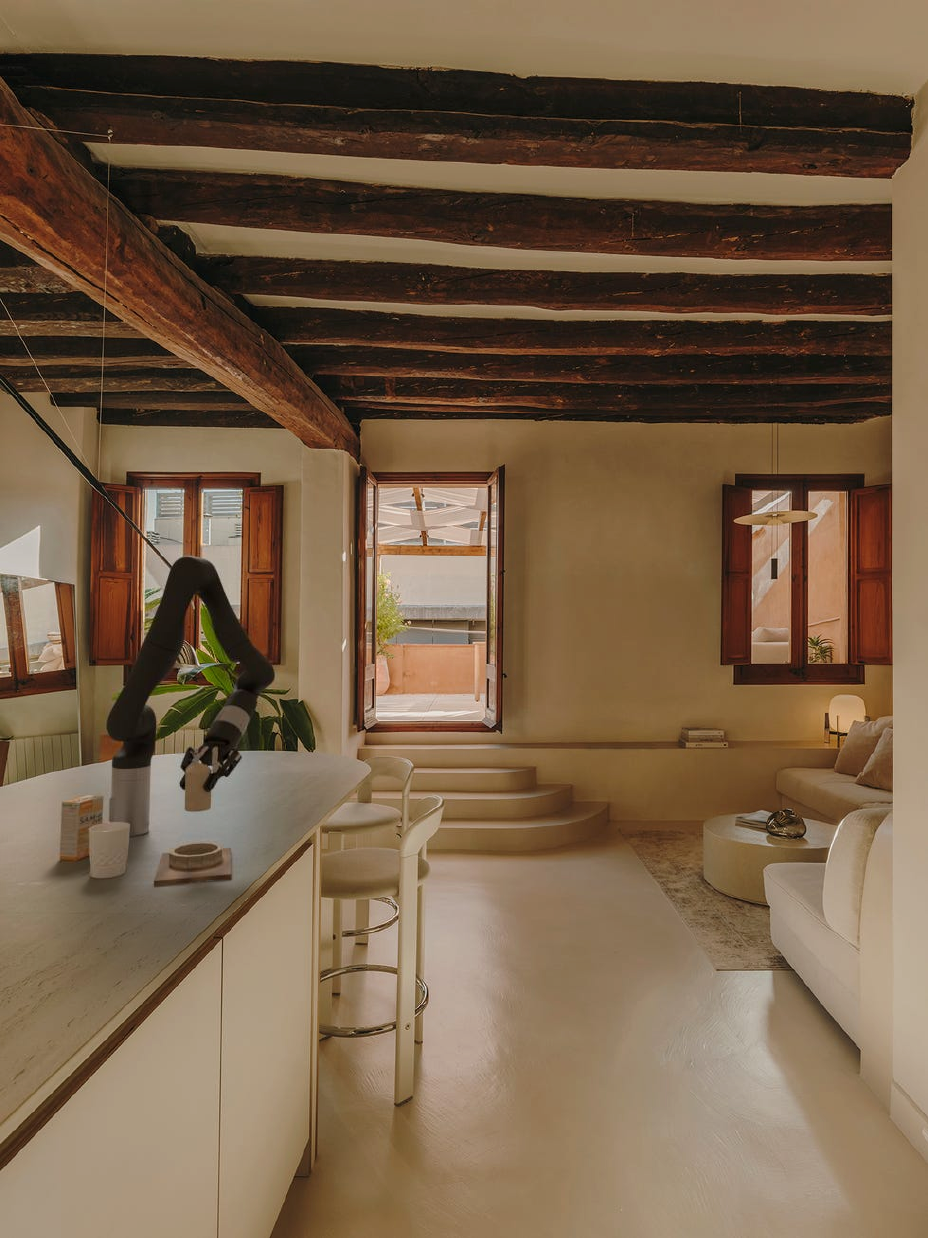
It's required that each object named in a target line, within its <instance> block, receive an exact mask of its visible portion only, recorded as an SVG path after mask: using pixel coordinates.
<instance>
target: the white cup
mask: <svg viewBox="0 0 928 1238" xmlns="http://www.w3.org/2000/svg"><path fill="white" fill-rule="evenodd" d="M129 832H130V824H129V823H125V822H109V821H108V822H102V824H97V825H94V826H91V827H90V828H89V854H90V855H89V864H90V865H89V866H90V867H89V869H90V871H89V874H90V877H91V878H94V879H110V878H117V877H120V876H121V875H124V874H125V873H126V869H127V860H128V854H129V844H130V843H129V841H130V836H129Z"/></svg>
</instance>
